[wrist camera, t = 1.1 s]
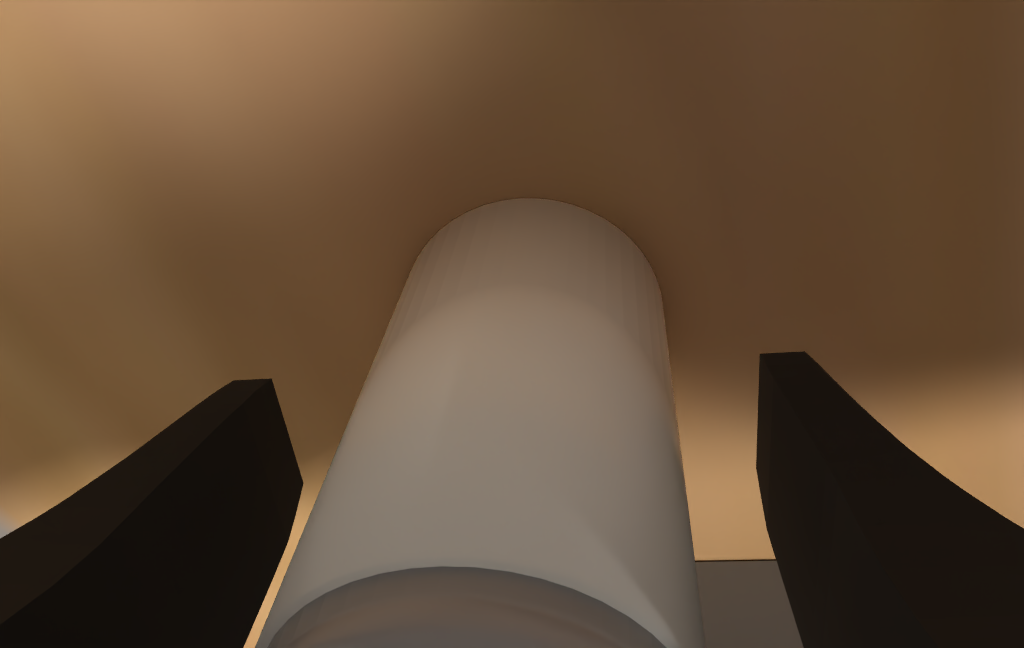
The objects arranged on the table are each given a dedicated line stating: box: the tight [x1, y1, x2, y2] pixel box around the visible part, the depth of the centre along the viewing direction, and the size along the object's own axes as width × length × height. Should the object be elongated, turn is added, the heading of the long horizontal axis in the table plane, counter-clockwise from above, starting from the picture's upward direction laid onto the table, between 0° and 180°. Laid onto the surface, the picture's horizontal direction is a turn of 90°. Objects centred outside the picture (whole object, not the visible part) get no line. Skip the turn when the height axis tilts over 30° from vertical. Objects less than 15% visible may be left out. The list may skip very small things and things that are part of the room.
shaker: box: [255, 198, 706, 648], centre depth 12 cm, size 5×5×9 cm
